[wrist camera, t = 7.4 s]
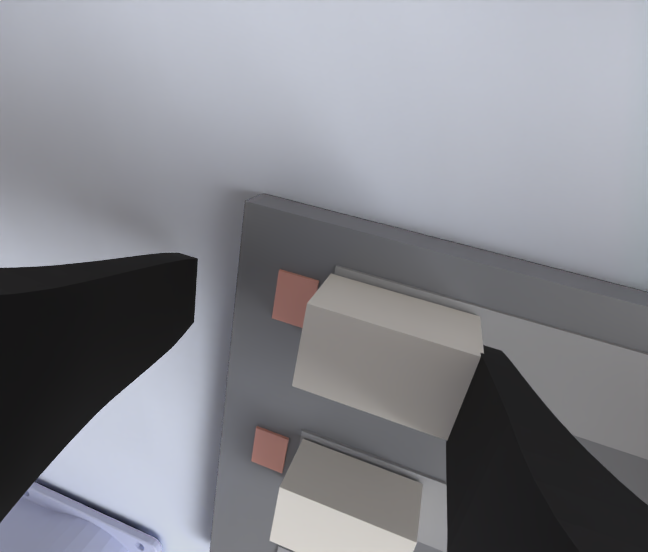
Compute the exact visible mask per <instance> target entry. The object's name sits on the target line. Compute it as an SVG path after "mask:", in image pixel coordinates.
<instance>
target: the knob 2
mask: <svg viewBox="0 0 648 552" xmlns="http://www.w3.org/2000/svg"><path fill="white" fill-rule="evenodd" d="M422 488H423V484H422V483H419V482H417V481H414V480H411V479H409V478H406V477H403V476H401V475H398V474H395V473H393V472H390V471H387V470H385V469H382V468H379V467H377V466H374V465H372V464H369V463H366V462H364V461H361V460H358V459H356V458H353V457H350V456H348V455H345V454H342V453H340V452H337V451H334V450H332V449H329V448H326V447H324V446H321V445H318V444H316V443H313V442H310V441H308V440H305V439H302V442H301V444H300V446H299V448H298V450H297V452H296V454H295V456H294V458H293V460H292V462H291V464H290V466H289V469H288V471H287V473H286V475H285V477H284V479H283V481H282V483H281V485H280V487H279V493H278V498H277V503H276V508H275V514H274V519H273V524H272V529H271V535H270V540H269V541H271V542H274V543H276V544H278V545H281V546H283V547H285V548H288V549H290V550H292V551H294V552H413V551H414V549H415V546H416V544H417V537H418V527H419V517H420V507H421V497H422Z"/></svg>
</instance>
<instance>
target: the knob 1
mask: <svg viewBox="0 0 648 552" xmlns="http://www.w3.org/2000/svg"><path fill="white" fill-rule="evenodd" d="M481 353H483V354H484V349H483V339H482V329H481V319H480V316H477V315H473V314H470V313H466V312H463V311H459V310H456V309H452V308H449V307H446V306H442V305H439V304H435V303H432V302H428V301H425V300H421V299H418V298H414V297H411V296H407V295H404V294H400V293H397V292H394V291H390V290H387V289H383V288H380V287H376V286H373V285H369V284H366V283H362V282H359V281H355V280H352V279H348V278H345V277H341V276H338V275H335V274H330V275H329V276H328V278H327V279H326V280H325V281H324V283H323V284H322V285H321V286H320V288H319V289H318V290H317V291H316V293H315V294H314V295H313V296H312V298H311V299H310V300H309V301H308V303H307V306H306V311H305V317H304V322H303V328H302V333H301V339H300V344H299V350H298V355H297V361H296V366H295V372H294V377H293V383H292V386H293V387H296V388H299V389H302V390H305V391H308V392H310V393H313V394H316V395H319V396H322V397H325V398H327V399H330V400H333V401H336V402H339V403H342V404H345V405H347V406H350V407H353V408H356V409H359V410H362V411H364V412H367V413H370V414H373V415H376V416H379V417H381V418H384V419H387V420H390V421H393V422H396V423H399V424H401V425H404V426H407V427H410V428H413V429H416V430H418V431H421V432H424V433H427V434H430V435H433V436H436V437H438V438H441V439H444V440H448V438H449V435H450V433H451V430H452V428H453V425H454V423H455V420H456V418H457V415H458V413H459V410H460V408H461V405H462V403H463V400H464V398H465V395H466V393H467V390H468V388H469V385H470V383H471V380H472V378H473V375H474V373H475V370H476V368H477V365H478V363H479V360H480V358H481Z"/></svg>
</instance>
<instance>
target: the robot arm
mask: <svg viewBox="0 0 648 552" xmlns="http://www.w3.org/2000/svg"><path fill="white" fill-rule="evenodd" d="M197 261H198V259H197V258H194V257H190V256H187V255H184V254H180V253H159V254H149V255H141V256H133V257H125V258H117V259H110V260H102V261H93V262H84V263H74V264H65V265H54V266H40V267H18V268H0V552H162V546H161V543H160V542H159V541H158V540H157V539H156V538H154V537H153V536H150V535H148V534H146V533H144V532H142V531H140V530H137V529H135V528H133V527H131V526H129V525H127V524H124V523H122V522H120V521H118V520H116V519H114V518H111V517H109V516H107V515H105V514H103V513H101V512H98V511H96V510H94V509H92V508H90V507H88V506H85V505H83V504H81V503H79V502H77V501H75V500H72V499H70V498H68V497H66V496H64V495H62V494H59V493H57V492H55V491H53V490H51V489H49V488H46V487H44V486H42V485H40V484H38V483H36V482H35V480H36V479H37V478H38V477H39V476H40V474H41V473H42V472H43V471H44V470H45V469H46V468H47V467H48V466H49V464H50V463H51V462H52V461H53V460H54V459H55V458H56V457H57V455H58V454H59V453H60V452H61V451H62V450H63V449H64V448H65V446H66V445H67V444H68V443H69V442H70V441H71V440H72V439H73V438H74V437H75V436H76V435H77V434H78V433H79V431H80V430H81V429H82V428H83V427H84V426H85V425H86V424H87V423H88V422H89V421H90V420H91V419H92V418H93V417H94V416H95V415H96V414H97V413H98V412H99V411H100V410H101V409H102V408H103V407H104V406H105V405H106V404H107V403H108V402H109V401H111V400H112V399H113V398H114V397H115V396H116V395H118V394H119V393H120V392H121V391H122V390H123V389H125V388H126V387H127V386H128V385H129V384H130V383H132V382H133V381H134V380H135V379H136V378H137V377H139V376H140V375H141V374H142V373H143V372H145V371H146V370H147V369H148V368H149V367H150V366H152V365H153V364H154V363H155V362H156V361H157V360H158V359H160V358H161V357H162V356H163V355H164V354H165V353H166V352H168V351H169V350H170V349H171V348H172V347H173V346H174V345H175V344H176V343H177V341H178V340H179V339H180V338H181V337H182V336H183V335H184V333H185V332H186V331H187V330H188V329H189V327H190V326H191V325H192V324H193V323H194V313H195V296H196V278H197ZM483 349H484V354H483V353H481V358H480V360H479V363H478V365H477V368H476V370H475V373H474V375H473V378H472V380H471V383H470V385H469V388H468V390H467V393H466V395H465V398H464V400H463V403H462V405H461V408H460V410H459V413H458V415H457V418H456V420H455V423H454V425H453V428H452V430H451V433H450V435H449V438H448V440H446V486H447V552H648V505H647V504H646V503H645V502H643V501H642V500H641V499H640V498H639V497H637V496H636V495H635V494H634V493H633V492H632V491H631V490H629V489H628V488H627V487H626V486H625V485H624V484H622V483H621V482H620V481H619V480H618V479H617V478H616V477H615V476H614V475H613V474H612V473H611V472H610V471H608V470H607V469H606V468H605V467H604V466H603V465H602V464H601V463H600V462H599V461H598V460H597V459H596V458H595V457H594V456H593V455H591V454H590V453H589V452H588V451H587V450H586V448H585V447H584V446H583V445H582V444H581V443H580V442H579V441H578V440H577V439H576V438H575V437H574V436H573V435H572V434H571V433H570V432H569V431H568V429H567V428H566V427H565V426H564V425H563V424H562V423H561V422H560V421H559V420H558V419H557V417H556V416H555V415H554V414H553V413H552V412H551V410H550V409H549V408H548V407H547V406H546V405H545V403H544V402H543V401H542V400H541V398H540V397H539V396H538V395H537V394H536V392H535V391H534V390H533V389H532V387H531V386H530V385H529V384H528V382H527V381H526V380H525V378H524V377H523V376H522V375H521V373H520V372H519V371H518V369H517V368H516V367H515V366H514V364H513V363H512V362H511V361H510V359H509V358H508V357H507V356H506V355H505V353H504V352H503V351H501V350H498V349H495V348H492V347H488V346H485V345H483Z"/></svg>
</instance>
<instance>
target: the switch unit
mask: <svg viewBox="0 0 648 552" xmlns="http://www.w3.org/2000/svg"><path fill="white" fill-rule="evenodd" d="M330 274H335V275H338V276H341V277H345V278H348V279H352V280H355V281H359V282H362V283H366V284H369V285H373V286H376V287H380V288H383V289H387V290H390V291H394V292H397V293H400V294H404V295H407V296H411V297H414V298H418V299H421V300H425V301H428V302H432V303H435V304H439V305H442V306H446V307H449V308H452V309H456V310H459V311H463V312H466V313H470V314H473V315H477V316H480V319H481V329H482V339H483V345H485V346H488V347H492V348H495V349H498V350H501V351H503V352H504V353H505V355H506V356H507V357H508V358H509V359H510V361H511V362H512V363H513V364H514V366H515V367H516V368H517V369H518V371H519V372H520V373H521V375H522V376H523V377H524V378H525V380H526V381H527V382H528V384H529V385H530V386H531V387H532V389H533V390H534V391H535V392H536V394H537V395H538V396H539V397H540V398H541V400H542V401H543V402H544V403H545V405H546V406H547V407H548V408H549V409H550V410H551V412H552V413H553V414H554V415H555V416H556V417H557V419H558V420H559V421H560V422H561V423H562V424H563V425H564V426H565V427H566V428H567V429H568V431H569V432H570V433H571V434H572V435H573V436H574V437H575V438H576V439H577V440H578V441H579V442H580V443H581V444H582V445H583V446H584V447H585V448H586V450H587V451H588V452H589V453H590V454H591V455H593V456H594V457H595V458H596V459H597V460H598V461H599V462H600V463H601V464H602V465H603V466H604V467H605V468H606V469H607V470H608V471H610V472H611V473H612V474H613V475H614V476H615V477H616V478H617V479H618V480H619V481H620V482H621V483H622V484H624V485H625V486H626V487H627V488H628V489H629V490H631V491H632V492H633V493H634V494H635V495H636V496H637V497H639V498H640V499H641V500H642V501H643V502H645V503H646V504H647V505H648V292H645V291H641V290H637V289H633V288H629V287H625V286H621V285H618V284H614V283H610V282H606V281H602V280H598V279H594V278H590V277H586V276H582V275H579V274H575V273H571V272H567V271H563V270H559V269H555V268H551V267H547V266H544V265H540V264H536V263H532V262H528V261H524V260H520V259H516V258H512V257H508V256H505V255H501V254H497V253H493V252H489V251H485V250H481V249H477V248H473V247H470V246H466V245H462V244H458V243H454V242H450V241H446V240H442V239H438V238H435V237H431V236H427V235H423V234H419V233H415V232H411V231H407V230H403V229H399V228H396V227H392V226H388V225H384V224H380V223H376V222H372V221H368V220H364V219H361V218H357V217H353V216H349V215H345V214H341V213H337V212H333V211H329V210H326V209H322V208H318V207H314V206H310V205H306V204H302V203H298V202H294V201H290V200H287V199H283V198H279V197H275V196H271V195H267V194H261V195H258V196H256V197H253V198H251V199H249V200H246V201H245V206H244V216H243V226H242V236H241V246H240V256H239V266H238V275H237V285H236V295H235V305H234V315H233V325H232V335H231V345H230V355H229V365H228V375H227V385H226V395H225V404H224V414H223V424H222V434H221V444H220V454H219V464H218V474H217V484H216V494H215V504H214V514H213V523H212V533H211V543H210V552H294V551H292V550H290V549H288V548H285V547H283V546H281V545H278V544H276V543H274V542H271V541H269V540H270V535H271V529H272V524H273V519H274V514H275V508H276V503H277V498H278V493H279V487H280V485H281V483H282V481H283V479H284V477H285V475H286V473H287V471H288V469H289V466H290V464H291V462H292V460H293V458H294V456H295V454H296V452H297V450H298V448H299V446H300V444H301V442H302V439H305V440H308V441H310V442H313V443H316V444H318V445H321V446H324V447H326V448H329V449H332V450H334V451H337V452H340V453H342V454H345V455H348V456H350V457H353V458H356V459H358V460H361V461H364V462H366V463H369V464H372V465H374V466H377V467H379V468H382V469H385V470H387V471H390V472H393V473H395V474H398V475H401V476H403V477H406V478H409V479H411V480H414V481H417V482H419V483H422V484H423V488H422V497H421V507H420V517H419V527H418V537H417V544H416V546H415V549H414V551H413V552H447V486H446V440H444V439H441V438H438V437H436V436H433V435H430V434H427V433H424V432H421V431H418V430H416V429H413V428H410V427H407V426H404V425H401V424H399V423H396V422H393V421H390V420H387V419H384V418H381V417H379V416H376V415H373V414H370V413H367V412H364V411H362V410H359V409H356V408H353V407H350V406H347V405H345V404H342V403H339V402H336V401H333V400H330V399H327V398H325V397H322V396H319V395H316V394H313V393H310V392H308V391H305V390H302V389H299V388H296V387H293V386H292V383H293V377H294V372H295V366H296V361H297V355H298V350H299V344H300V339H301V333H302V328H303V322H304V317H305V311H306V306H307V303H308V301H309V300H310V299H311V298H312V296H313V295H314V294H315V293H316V291H317V290H318V289H319V288H320V286H321V285H322V284H323V283H324V281H325V280H326V279H327V278H328V276H329V275H330Z"/></svg>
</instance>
